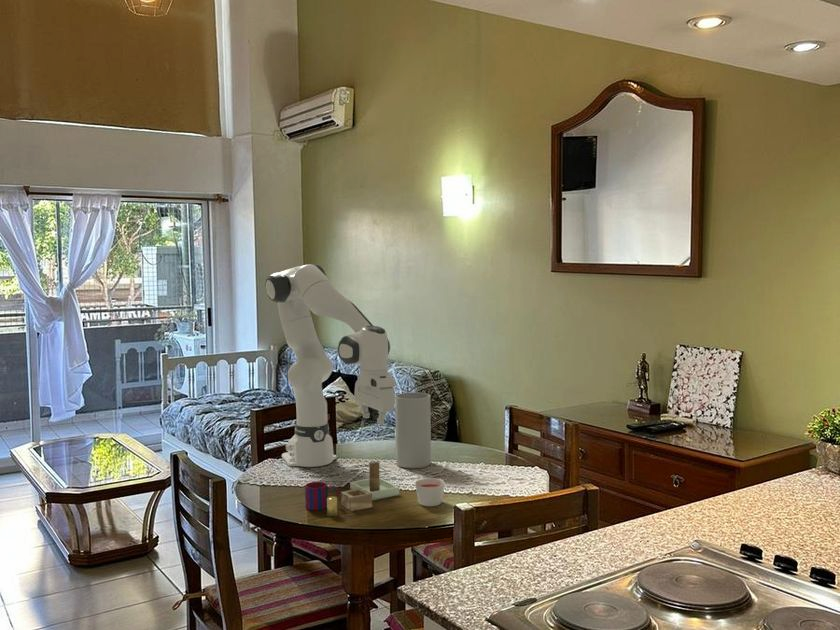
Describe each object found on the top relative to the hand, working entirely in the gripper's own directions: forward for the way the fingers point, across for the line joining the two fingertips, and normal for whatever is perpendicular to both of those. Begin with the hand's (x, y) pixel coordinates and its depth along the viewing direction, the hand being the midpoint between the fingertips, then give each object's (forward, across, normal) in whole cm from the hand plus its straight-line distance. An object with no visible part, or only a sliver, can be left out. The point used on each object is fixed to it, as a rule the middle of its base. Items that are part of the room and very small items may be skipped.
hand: (373, 421), depth 244 cm
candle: (+23, +19, +10) cm, 31 cm away
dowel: (+22, +1, 0) cm, 22 cm away
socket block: (+23, +9, -10) cm, 27 cm away
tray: (+23, +1, 0) cm, 23 cm away
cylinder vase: (+23, -20, +28) cm, 41 cm away
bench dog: (+23, +12, -20) cm, 33 cm away
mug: (+24, +4, -20) cm, 31 cm away
